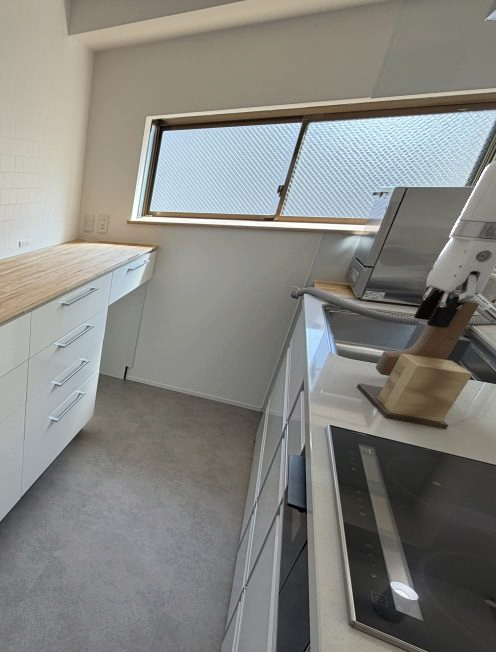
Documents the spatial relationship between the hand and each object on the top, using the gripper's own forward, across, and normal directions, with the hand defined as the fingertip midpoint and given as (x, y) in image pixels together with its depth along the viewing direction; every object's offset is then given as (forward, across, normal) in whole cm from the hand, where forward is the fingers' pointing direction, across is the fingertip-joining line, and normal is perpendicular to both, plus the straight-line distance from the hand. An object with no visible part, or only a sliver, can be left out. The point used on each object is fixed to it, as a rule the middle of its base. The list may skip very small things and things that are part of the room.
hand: (430, 321), depth 87 cm
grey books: (+18, +10, -8) cm, 23 cm away
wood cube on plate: (+18, -4, 0) cm, 19 cm away
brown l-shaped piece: (+13, 0, 0) cm, 13 cm away
